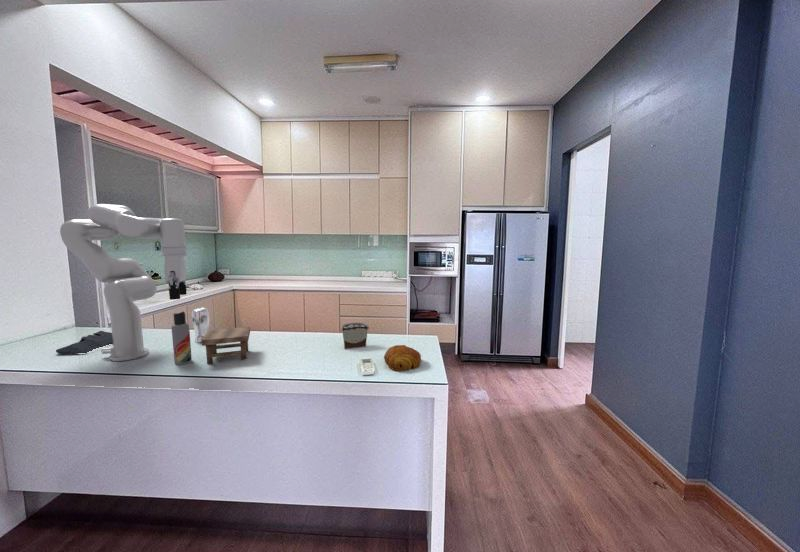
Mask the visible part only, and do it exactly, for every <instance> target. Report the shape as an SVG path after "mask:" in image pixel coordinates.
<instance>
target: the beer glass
mask: <svg viewBox="0 0 800 552" xmlns="http://www.w3.org/2000/svg"><path fill="white" fill-rule="evenodd" d="M191 323H192V326H193V330H194V335H195V337H194V342H195V343H197V344H198V343H200V344H202V342H201V340H202V339H203V337H204V336H205V334H206V333H207V331H208V330H210V328H209V327H210V312H209V308H208V307H197V308H193V309H191Z"/></svg>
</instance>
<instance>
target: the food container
mask: <svg viewBox="0 0 800 552" xmlns="http://www.w3.org/2000/svg"><path fill="white" fill-rule="evenodd" d="M368 330H370V328H369V325H368V324H367V323H363V322H348V323H345V324H343V325H342V326H341V329H340V331H341V332H342V337H343V343H344V344H343V346H344V350H350V349H359V348H360V349H361V348H366V347H367V338H368Z"/></svg>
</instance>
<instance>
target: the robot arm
mask: <svg viewBox="0 0 800 552" xmlns="http://www.w3.org/2000/svg"><path fill="white" fill-rule="evenodd" d="M86 215H87V217H88V219H85V218H84V219H83V218H82V219H81V218H78V219H77V218H75V219H70V220H69V219H68V220H67V221H65V222H63V223H62V224H61V226H60V227H59V228H60V231H59V234H60V238H61V241H62V243H63V245H65V247H66V248H67V249H68V250H69V251H70V252H71V253H72V254H73V255H74V256H76V257H77V258H78V259H79V260H80V261H81V262H82V264H84V266H85V268H87V270H88V271H89V272H90V274H91V275H92V276H93V277H94V278H95V279H96V280H97V281H98V282H100V283H103V284H105V283H106V285H105V286H104V287H103V294H104V299H105V301H106V304H107V306H108V311H109V320H110V328H111V333H112V338H113V344H112V346H111V347H105V348H102V349H100V352H101V354H102V355H107V354H110V355H109V361H113V362H125V361H131V360H135V359H139V358H142V357H144V356H147V355H149V353H150V350H149V349H148V348H146V347H144V337H143V325H142V315H141V310H140V308H139V307H138V306H137V305H136V304H135V303H134V302H136V301H141V300H146V299H147V300H148V299H150V298H152V297H154V296H155V295H156V293H157V289H158V288H157V284H156V283H155V281H154V279H153V278H152V277H151V275H150V274H149V273H148V271H146V269H145V268H144V267H143V266H142V265H141V263H139V261H137V260H135V259H134V258H130V257H119V258H118V257H116V258H115V257H112V256H111V255H110V253H108V252H107V251H106V249H104V248H103V247H102V246H100V245H99V244H97V243H94V242H93V241H111V240H113V239H116V238H118V236H120V235H123V236H126V237H131V238H133V239H143V240H144V239H160V240H161V241H160V242H161V243H160V244H161V253H162V257H164V264H163V265H164V282H165V283H166V284H168V293H169V295H168V296H169V300H171V301H172V300H180V299H181V296H184V295H185V296H186V295H187V284H186V278H187V272H186V263H185V256H187V242H186V231H185V222H184V220H183V219H181V218H169V217H168V218H158V217H139V216H137V215H136V214H135V213H134V211H133V210H132V209H131V208H130V207H129V206H127V205H126V206H125V205H122V204H111V203H109V204H108V203H98V204H94V205H91V206H90V207H89V208H88V209H87V212H86Z"/></svg>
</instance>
